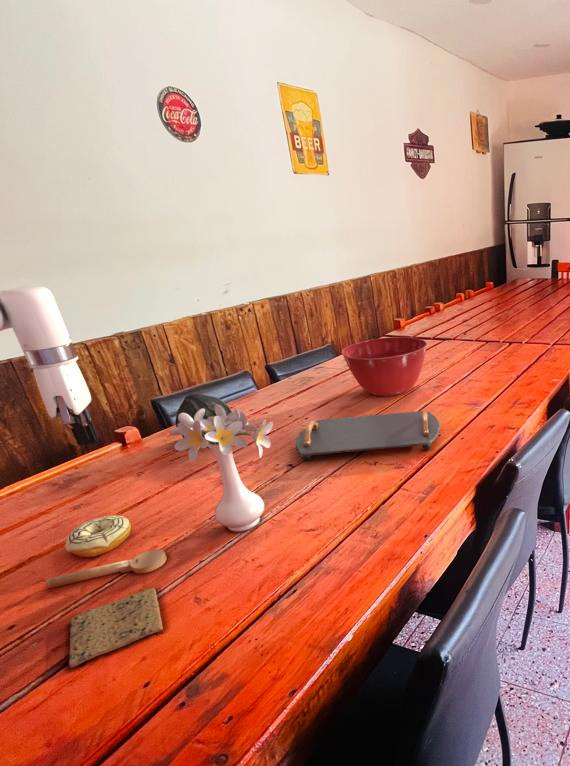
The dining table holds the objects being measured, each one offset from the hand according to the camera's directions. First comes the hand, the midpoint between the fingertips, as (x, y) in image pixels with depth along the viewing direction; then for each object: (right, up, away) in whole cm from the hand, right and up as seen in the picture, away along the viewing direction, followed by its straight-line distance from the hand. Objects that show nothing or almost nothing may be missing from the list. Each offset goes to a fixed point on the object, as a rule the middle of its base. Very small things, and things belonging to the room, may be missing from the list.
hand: (88, 442), depth 105 cm
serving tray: (+50, +1, +36) cm, 62 cm away
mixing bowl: (+49, +19, +73) cm, 90 cm away
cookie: (+23, -29, -24) cm, 44 cm away
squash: (+3, +1, +42) cm, 42 cm away
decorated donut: (+5, -20, -3) cm, 21 cm away
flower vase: (+32, -17, +2) cm, 36 cm away
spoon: (+13, -24, -12) cm, 30 cm away
